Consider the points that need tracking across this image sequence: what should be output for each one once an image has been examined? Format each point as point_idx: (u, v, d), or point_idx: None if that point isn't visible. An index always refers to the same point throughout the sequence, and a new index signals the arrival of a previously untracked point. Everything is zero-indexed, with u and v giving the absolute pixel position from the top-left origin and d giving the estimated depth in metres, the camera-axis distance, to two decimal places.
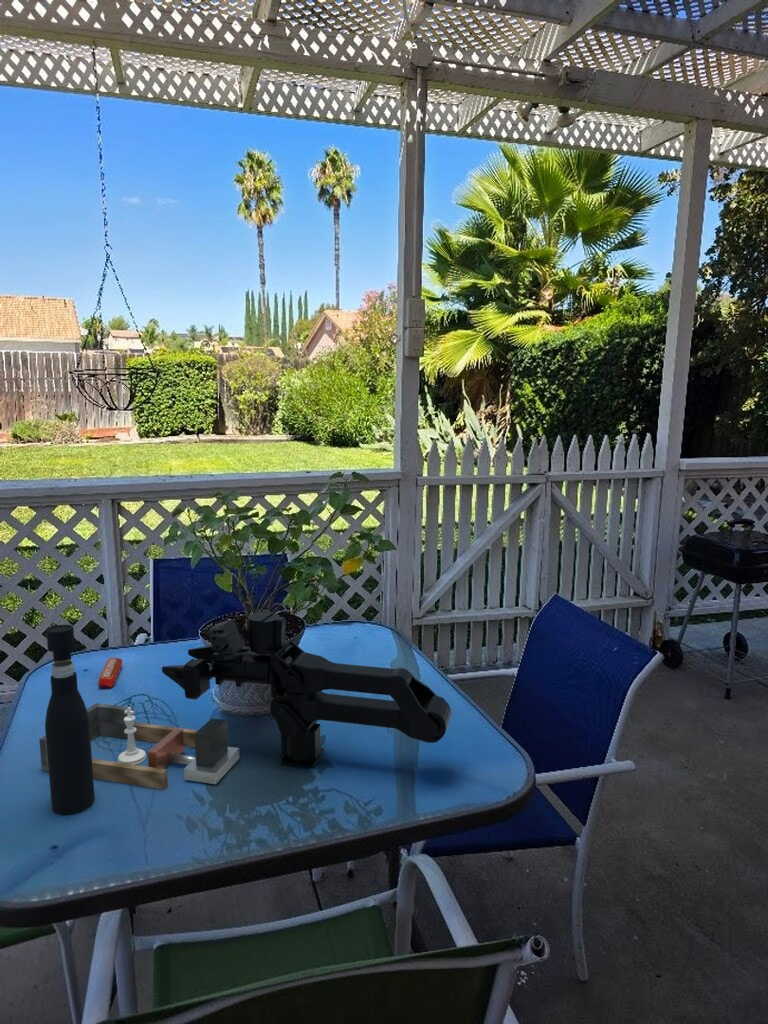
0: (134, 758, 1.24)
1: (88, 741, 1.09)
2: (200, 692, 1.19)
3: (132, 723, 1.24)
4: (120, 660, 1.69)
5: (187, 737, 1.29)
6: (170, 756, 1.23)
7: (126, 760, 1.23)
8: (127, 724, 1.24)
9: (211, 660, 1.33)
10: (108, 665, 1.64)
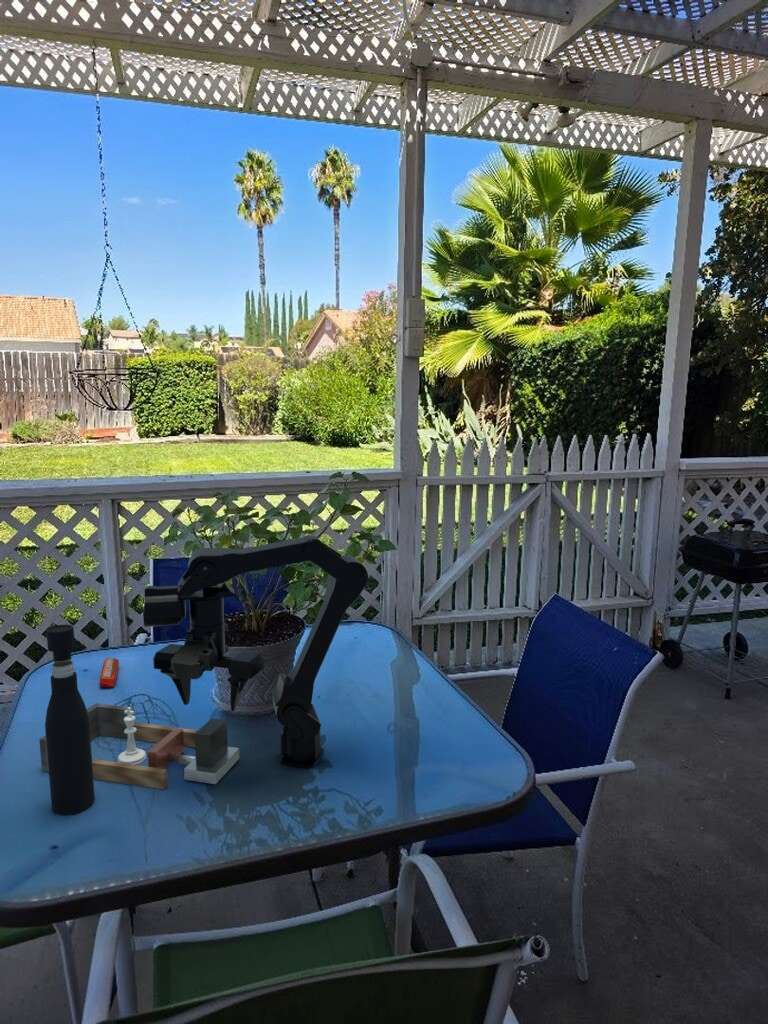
0: (134, 758, 1.24)
1: (88, 741, 1.09)
2: (258, 653, 1.18)
3: (132, 723, 1.24)
4: (117, 660, 1.69)
5: (187, 737, 1.29)
6: (170, 756, 1.23)
7: (126, 760, 1.23)
8: (127, 724, 1.24)
9: None
10: (106, 665, 1.64)
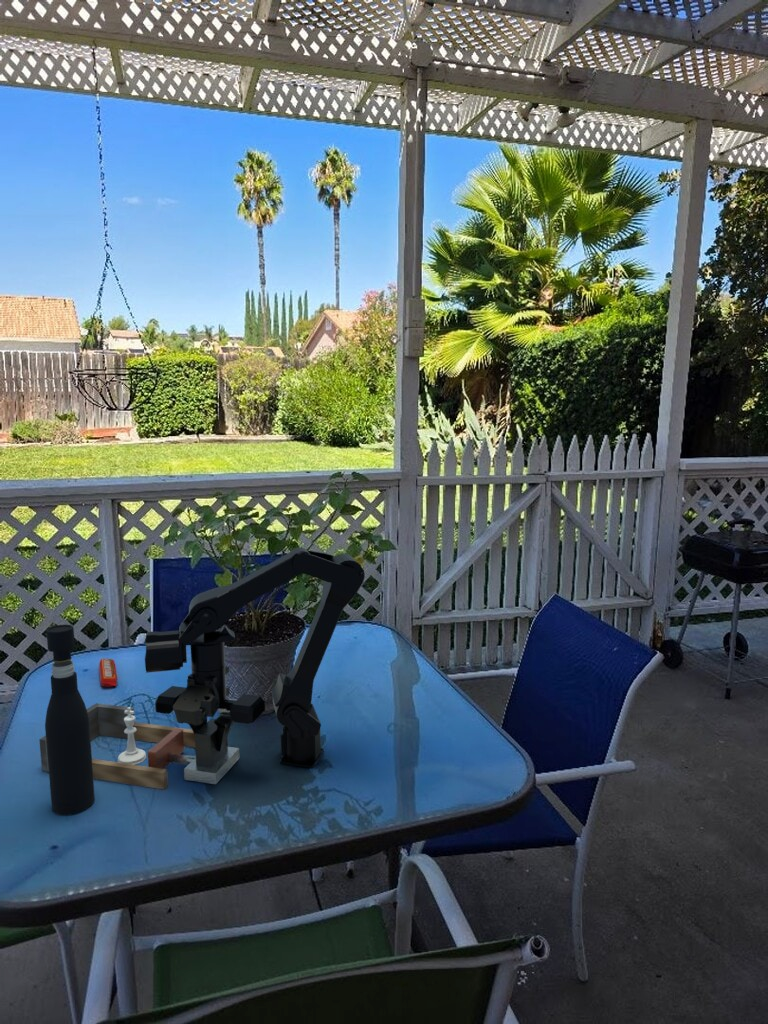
0: (134, 758, 1.24)
1: (88, 741, 1.09)
2: (259, 696, 1.19)
3: (132, 723, 1.24)
4: (113, 661, 1.69)
5: (187, 737, 1.29)
6: (170, 756, 1.23)
7: (126, 760, 1.23)
8: (127, 724, 1.24)
9: (204, 719, 1.22)
10: (105, 666, 1.63)
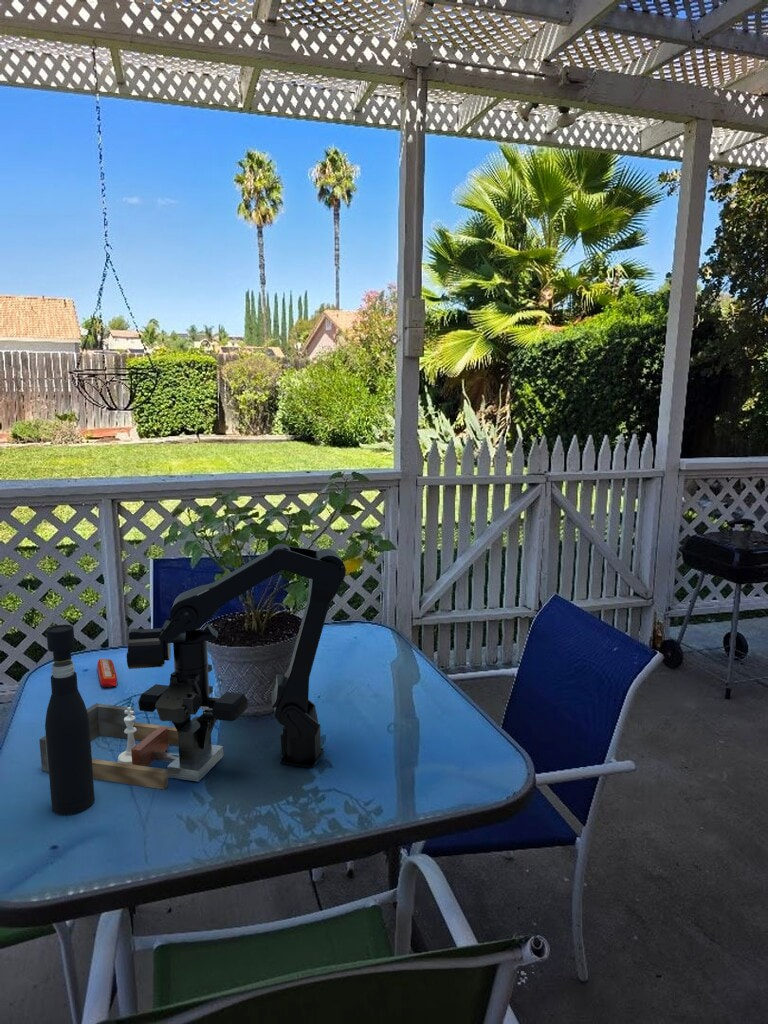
0: None
1: (88, 741, 1.09)
2: (242, 694, 1.20)
3: (132, 723, 1.24)
4: (111, 661, 1.69)
5: None
6: (154, 754, 1.23)
7: (126, 760, 1.23)
8: (127, 724, 1.24)
9: (188, 717, 1.23)
10: (104, 666, 1.63)
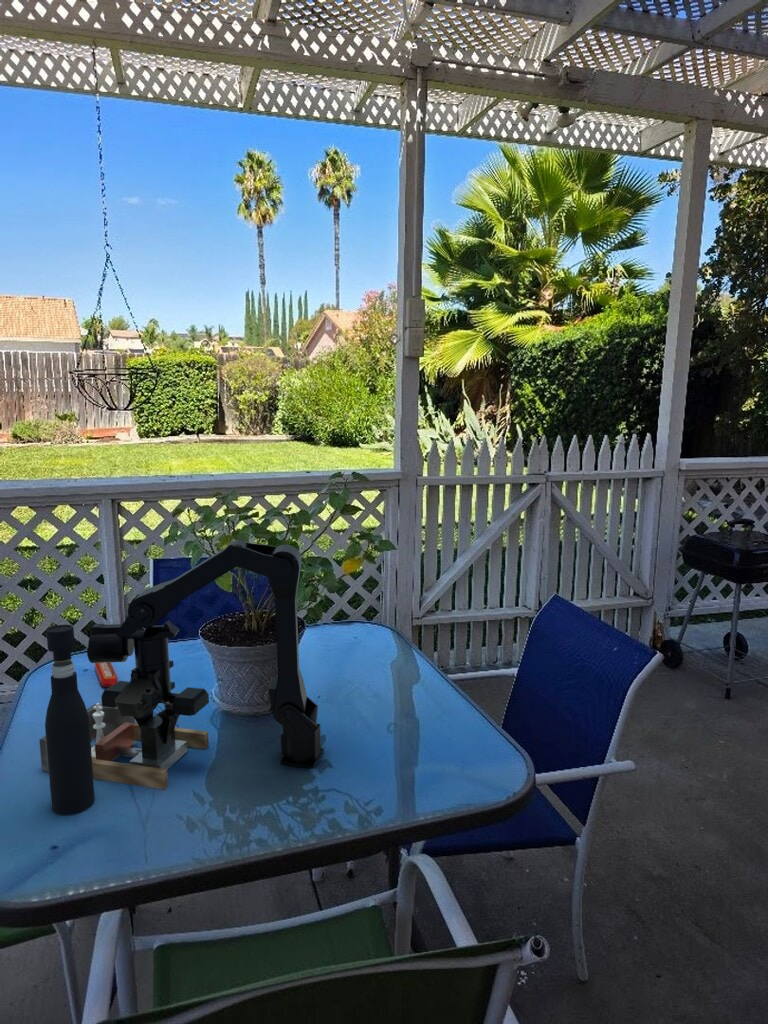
0: None
1: (88, 741, 1.09)
2: (203, 689, 1.22)
3: (101, 719, 1.26)
4: None
5: (187, 737, 1.29)
6: (118, 749, 1.25)
7: (94, 755, 1.25)
8: (96, 719, 1.25)
9: (150, 712, 1.25)
10: (103, 666, 1.63)
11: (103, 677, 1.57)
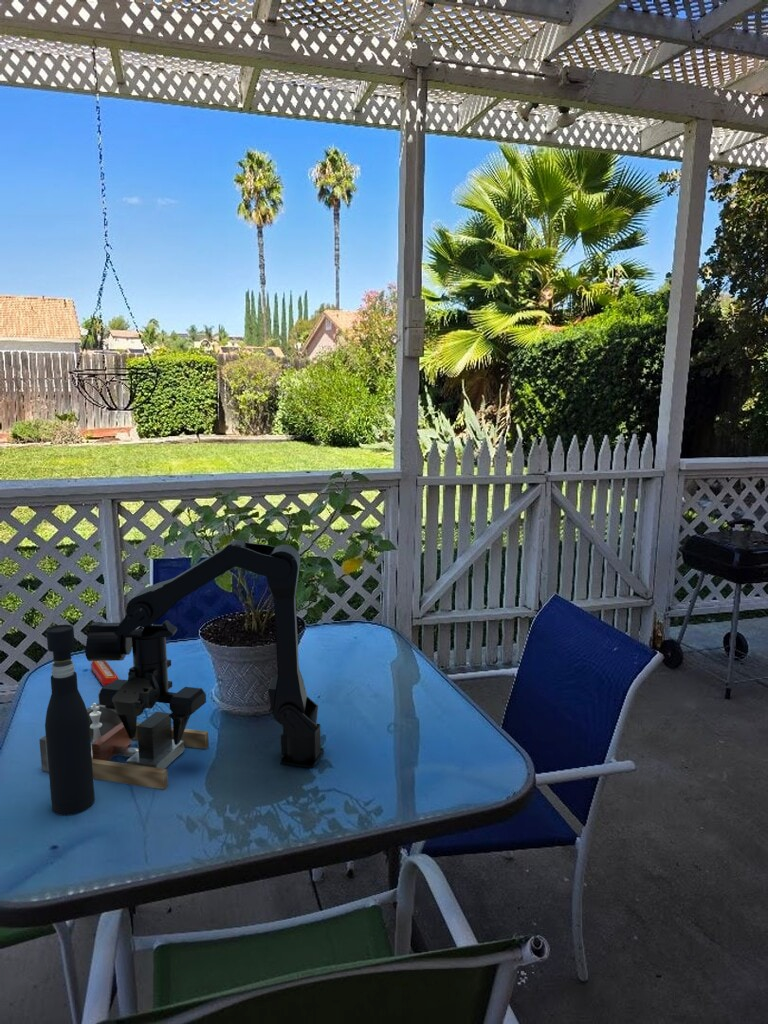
0: None
1: (88, 741, 1.09)
2: (200, 689, 1.22)
3: (97, 718, 1.26)
4: (105, 662, 1.68)
5: (187, 737, 1.29)
6: (115, 748, 1.25)
7: None
8: (92, 719, 1.26)
9: None
10: (101, 667, 1.63)
11: (104, 677, 1.57)
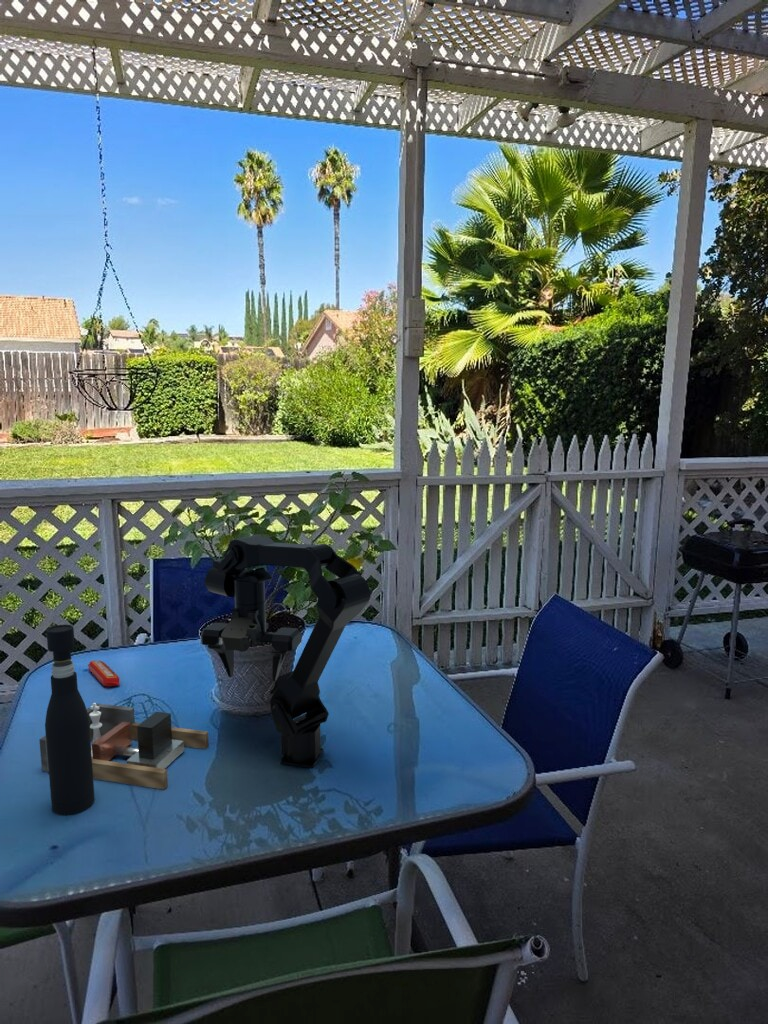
0: None
1: (88, 741, 1.09)
2: (297, 629, 1.30)
3: (97, 718, 1.26)
4: (103, 662, 1.68)
5: (187, 737, 1.29)
6: (115, 748, 1.25)
7: None
8: (92, 719, 1.26)
9: (232, 650, 1.34)
10: (100, 667, 1.63)
11: (105, 677, 1.57)
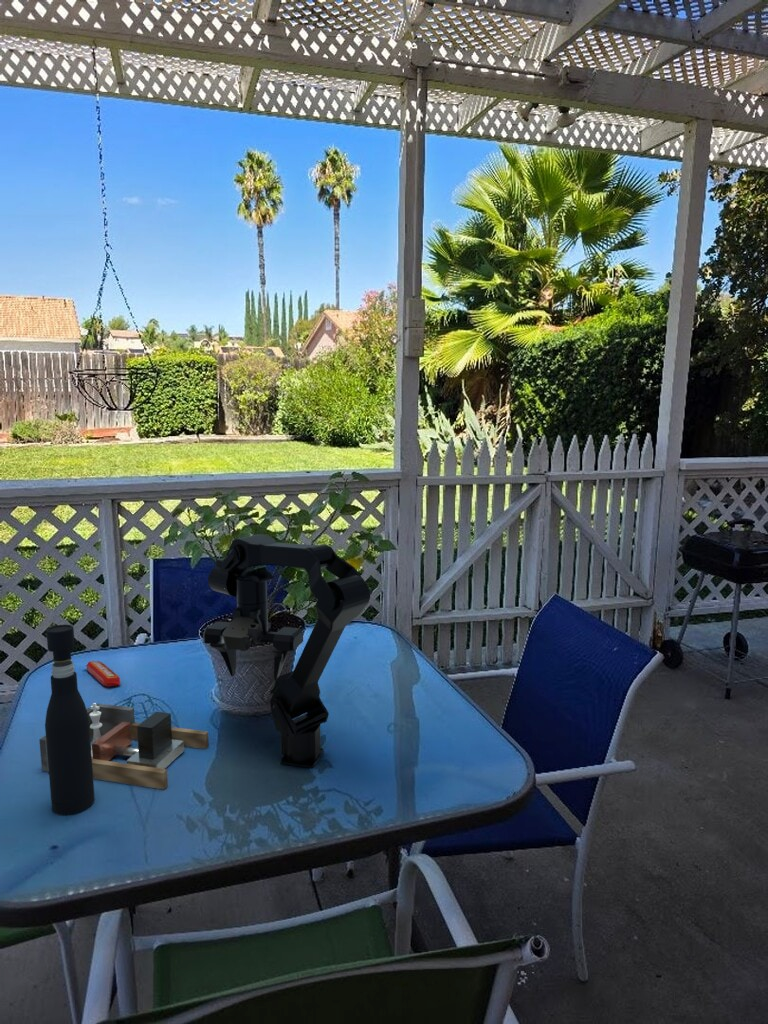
0: None
1: (88, 741, 1.09)
2: (298, 628, 1.31)
3: (97, 718, 1.26)
4: (101, 662, 1.68)
5: (187, 737, 1.29)
6: (115, 748, 1.25)
7: None
8: (92, 719, 1.26)
9: (234, 649, 1.34)
10: (99, 667, 1.63)
11: (106, 677, 1.57)
